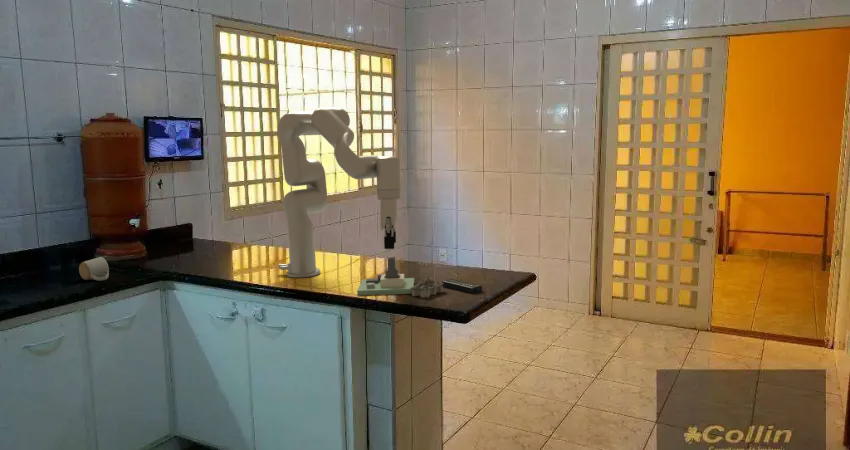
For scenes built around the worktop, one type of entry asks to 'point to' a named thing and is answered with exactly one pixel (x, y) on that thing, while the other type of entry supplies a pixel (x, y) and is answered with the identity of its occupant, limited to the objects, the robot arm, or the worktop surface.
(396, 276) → the plug
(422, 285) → the egg carton
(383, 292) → the board
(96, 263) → the ceramic mug
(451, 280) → the multiport hub
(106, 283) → the worktop surface
